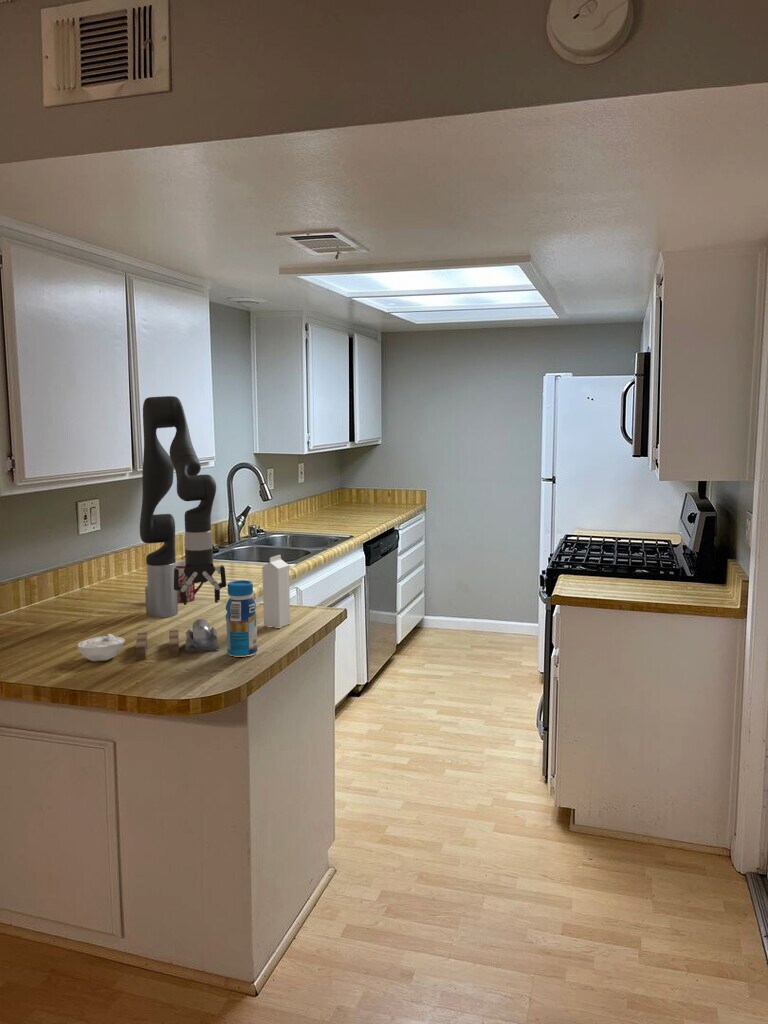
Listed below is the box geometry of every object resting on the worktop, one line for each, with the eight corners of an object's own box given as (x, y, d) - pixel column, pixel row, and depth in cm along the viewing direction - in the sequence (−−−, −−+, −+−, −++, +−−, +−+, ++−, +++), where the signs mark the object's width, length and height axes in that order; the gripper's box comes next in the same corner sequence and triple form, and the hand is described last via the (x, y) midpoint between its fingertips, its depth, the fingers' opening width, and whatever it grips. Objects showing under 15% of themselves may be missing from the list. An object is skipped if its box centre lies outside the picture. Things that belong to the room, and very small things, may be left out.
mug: (169, 604, 265) (167, 566, 263) (171, 598, 273) (170, 561, 272) (206, 602, 267) (205, 564, 265) (207, 596, 276) (206, 559, 274)
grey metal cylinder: (193, 636, 220) (191, 620, 219) (210, 633, 221) (208, 617, 221) (194, 648, 209) (192, 631, 208) (212, 645, 210) (210, 628, 209)
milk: (263, 626, 236) (261, 557, 233) (274, 621, 241) (272, 553, 238) (280, 629, 233) (277, 558, 230) (291, 624, 239) (288, 554, 236)
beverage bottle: (221, 653, 211) (219, 582, 208) (249, 647, 216) (246, 577, 213) (235, 660, 204) (232, 587, 201) (263, 654, 209) (261, 583, 206)
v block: (185, 643, 220) (184, 628, 219) (217, 640, 222) (216, 626, 221) (186, 652, 211) (185, 637, 210) (219, 650, 213) (218, 634, 213)
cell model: (77, 656, 209) (76, 632, 208) (123, 651, 213) (122, 627, 212) (79, 668, 199) (77, 643, 198) (127, 661, 204) (125, 637, 203)
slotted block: (138, 645, 219) (137, 633, 218) (178, 641, 221) (178, 629, 221) (136, 660, 205) (135, 647, 205) (179, 656, 208) (178, 644, 208)
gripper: (172, 550, 206) (174, 608, 209) (225, 547, 210) (227, 604, 212) (172, 545, 213) (174, 601, 216) (223, 542, 217) (225, 598, 219)
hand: (200, 603), depth 214 cm, fingers open, 8 cm apart
